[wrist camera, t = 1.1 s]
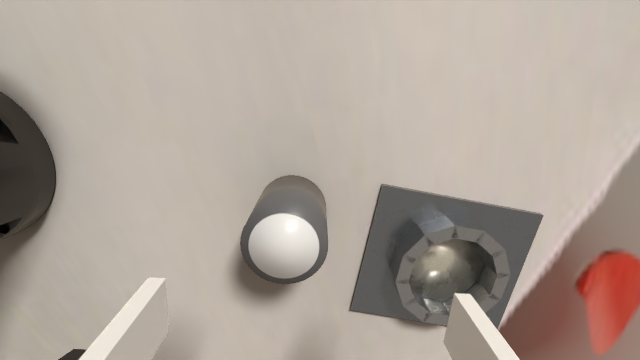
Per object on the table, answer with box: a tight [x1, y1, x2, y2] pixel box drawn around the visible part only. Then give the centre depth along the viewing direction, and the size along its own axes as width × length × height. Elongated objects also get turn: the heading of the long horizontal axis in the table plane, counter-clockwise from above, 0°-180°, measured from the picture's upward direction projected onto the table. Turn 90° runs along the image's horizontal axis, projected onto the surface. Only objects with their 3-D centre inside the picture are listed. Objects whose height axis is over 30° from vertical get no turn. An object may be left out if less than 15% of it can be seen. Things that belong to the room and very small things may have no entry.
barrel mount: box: [351, 184, 543, 329], centre depth 32 cm, size 16×14×3 cm
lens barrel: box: [240, 175, 328, 284], centre depth 28 cm, size 6×6×8 cm
